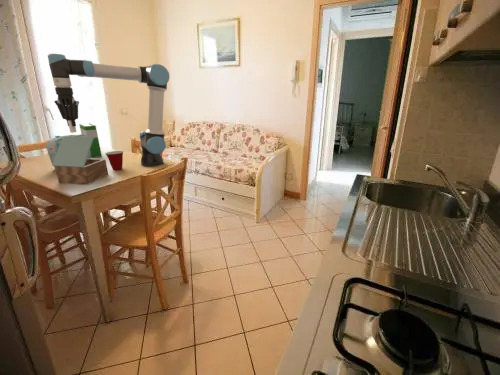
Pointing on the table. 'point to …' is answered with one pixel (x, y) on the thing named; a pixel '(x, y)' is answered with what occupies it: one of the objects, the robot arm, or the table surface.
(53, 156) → the lunch box
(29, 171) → the table surface
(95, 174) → the wooden box
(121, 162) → the plastic cup
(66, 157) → the pale teal square panel
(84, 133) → the hardback book
